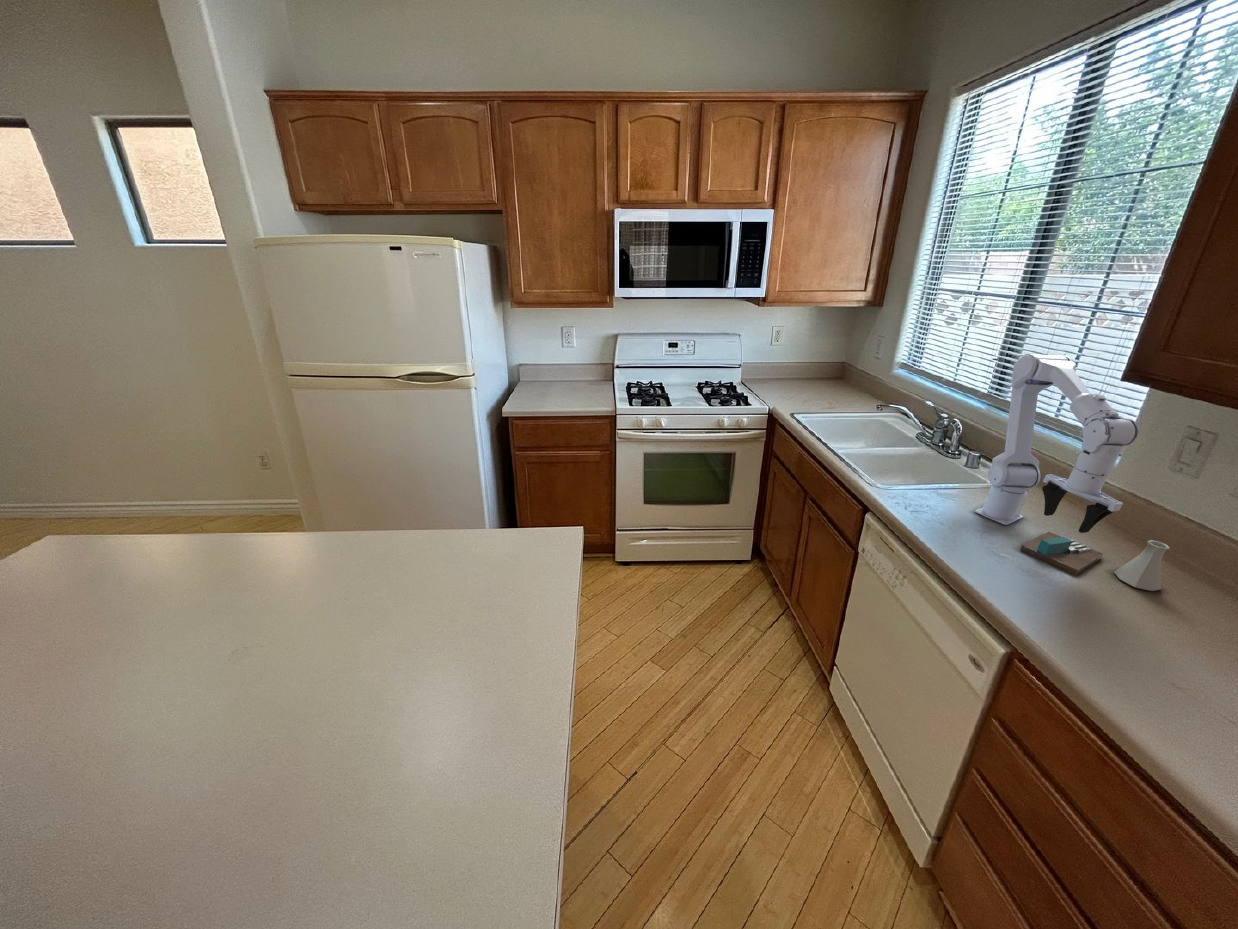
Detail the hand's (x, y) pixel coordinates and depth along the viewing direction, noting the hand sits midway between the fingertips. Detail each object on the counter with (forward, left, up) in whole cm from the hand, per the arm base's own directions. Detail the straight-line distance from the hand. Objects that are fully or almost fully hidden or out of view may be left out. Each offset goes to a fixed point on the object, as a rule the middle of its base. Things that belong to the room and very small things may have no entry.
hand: (1065, 523), depth 111 cm
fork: (-4, +1, -8) cm, 9 cm away
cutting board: (-3, +1, -9) cm, 10 cm away
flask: (-6, +14, -10) cm, 18 cm away
